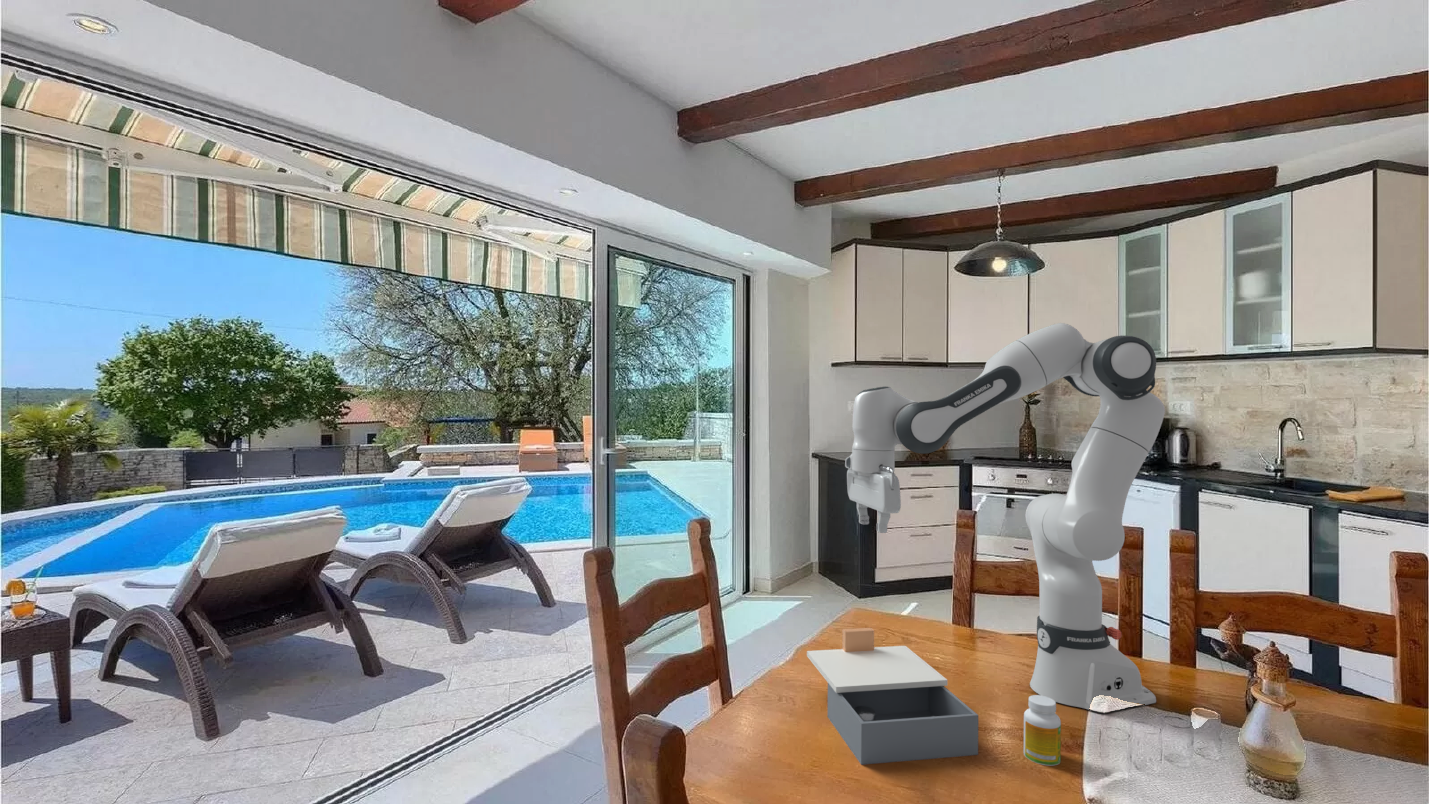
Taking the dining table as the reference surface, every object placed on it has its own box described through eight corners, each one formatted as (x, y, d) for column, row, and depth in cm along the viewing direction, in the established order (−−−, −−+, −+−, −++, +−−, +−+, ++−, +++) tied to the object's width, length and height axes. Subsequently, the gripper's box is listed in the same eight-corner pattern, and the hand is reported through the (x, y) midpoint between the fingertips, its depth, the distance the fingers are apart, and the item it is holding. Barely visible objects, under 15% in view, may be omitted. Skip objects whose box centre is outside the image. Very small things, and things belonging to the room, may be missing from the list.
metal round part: (869, 722, 117) (870, 705, 117) (878, 732, 114) (878, 715, 114) (850, 723, 117) (850, 707, 117) (858, 734, 113) (858, 716, 113)
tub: (930, 712, 122) (930, 675, 122) (978, 758, 107) (978, 715, 107) (827, 719, 119) (827, 681, 119) (861, 768, 103) (861, 723, 103)
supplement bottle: (1065, 771, 103) (1065, 709, 103) (1028, 767, 104) (1028, 706, 104) (1054, 753, 108) (1055, 694, 108) (1019, 749, 109) (1020, 691, 110)
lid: (905, 650, 134) (905, 626, 134) (947, 685, 117) (947, 657, 117) (806, 656, 130) (807, 630, 130) (836, 692, 114) (836, 664, 114)
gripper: (909, 467, 130) (908, 537, 130) (868, 459, 150) (868, 519, 150) (879, 467, 129) (878, 538, 129) (842, 459, 149) (841, 520, 149)
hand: (872, 528), depth 140 cm, fingers open, 8 cm apart
